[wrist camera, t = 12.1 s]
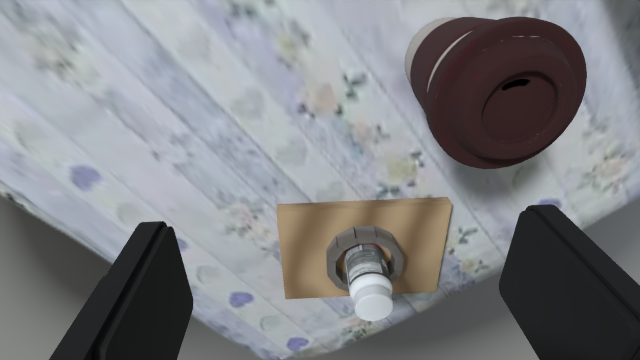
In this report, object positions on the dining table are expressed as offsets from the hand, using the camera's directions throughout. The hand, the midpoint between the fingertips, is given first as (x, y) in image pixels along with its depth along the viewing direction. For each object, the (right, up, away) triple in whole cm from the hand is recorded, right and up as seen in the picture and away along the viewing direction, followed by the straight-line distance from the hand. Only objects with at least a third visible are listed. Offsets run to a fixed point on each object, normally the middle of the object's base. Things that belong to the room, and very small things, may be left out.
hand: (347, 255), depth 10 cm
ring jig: (+4, -6, +37) cm, 37 cm away
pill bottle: (+5, -7, +35) cm, 36 cm away
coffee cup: (+11, +14, +25) cm, 31 cm away
